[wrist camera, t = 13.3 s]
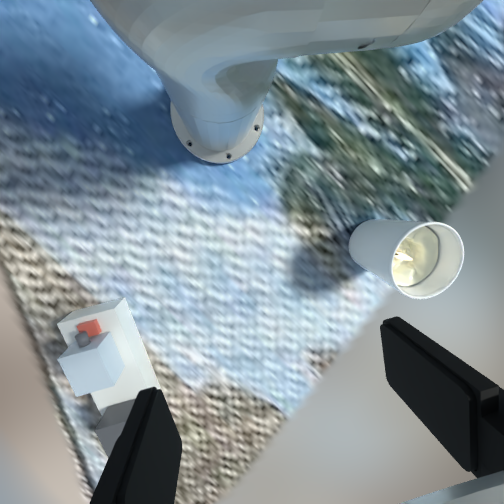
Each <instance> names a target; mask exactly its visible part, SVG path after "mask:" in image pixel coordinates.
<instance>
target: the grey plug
mask: <svg viewBox="0 0 504 504" xmlns="http://www.w3.org/2000/svg"><path fill="white" fill-rule="evenodd" d="M75 339H76V341H75V342H74V343H73V344H72V345H71V346H70V347H69V348H68V349H67V350H66V351H65V352H64V353H63V354H62V355H61V356H60V357H59V358H58V361H59V363H60V365H61V367H62V369H63V371H64V373H65V375H66V377H67V379H68V381H69V383H70V385H71V387H72V389H73V391H74V393H75V395H76V397H78V396H81V395H85V394H88V393H92V392H95V391H99V390H102V389H106V388H109V387H113V386H114V385H115V384H116V382H117V380H118V378H119V376H120V375H121V373H122V371H123V369H124V367H125V365H124V362H123V360H122V358H121V355H120V353H119V351H118V348H117V346H116V344H115V341H114V339H113V337H112V335H111V332H106V333H103V334H99V335H95V336H92V337H89V336H88V334H87V331H83V332H80V333H78V334H77V335H75Z"/></svg>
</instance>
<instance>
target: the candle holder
mask: <svg viewBox="0 0 504 504" xmlns="http://www.w3.org/2000/svg"><path fill="white" fill-rule="evenodd" d="M349 252H350V255H351V257H352V259H353V260H354V261H355V262H356V263H357V264H358V265H359V266H361V267H362V268H364V269H365V270H367V271H368V272H370V273H371V274H373V275H375V276H376V277H378V278H379V279H381V280H382V281H384V282H385V283H387V284H389V285H390V286H392V287H393V288H395V289H396V290H398V291H399V292H400V293H401V294H403V295H405V296H407V297H409V298H413V299H426V298H431V297H434V296H436V295H438V294H440V293H441V292H443V291H444V290H445V289H447V288H448V287H449V286H450V285H451V284H452V283H453V282H454V280H455V279H456V277H457V276H458V274H459V272H460V270H461V268H462V264H463V259H464V247H463V243H462V240H461V238H460V236H459V234H458V233H457V232H456V231H455V230H454V229H453V228H452V227H450V226H448V225H446V224H444V223H440V222H419V221H404V220H388V219H371V220H367V221H365V222H363V223H361V224H360V225H359V226H358V227H357V228H356V229H355V230H354V231H353V233H352V235H351V237H350V240H349Z"/></svg>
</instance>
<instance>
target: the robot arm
mask: <svg viewBox="0 0 504 504" xmlns="http://www.w3.org/2000/svg"><path fill="white" fill-rule="evenodd" d="M90 1H91V2H92V4H93V5H94V7H95V8H96V9H97V11H98V12H99V13H100V15H101V16H102V17H103V19H104V20H105V21H106V22H107V24H108V25H109V26H110V27H111V28H112V30H113V31H114V32H115V33H116V34H117V35H118V36H119V37H120V39H121V40H122V41H123V42H124V43H125V44H126V45H127V46H128V47H129V48H130V49H131V50H132V51H133V52H134V53H136V54H137V55H138V56H139V57H140V58H141V59H142V60H143V61H144V62H145V63H147V64H148V65H149V66H150V67H151V68H153V69H154V70H155V71H156V73H157V75H158V76H159V78H160V80H161V82H162V84H163V86H164V88H165V90H166V92H167V94H168V95H169V97H170V99H171V104H170V110H171V120H172V125H173V127H174V130H175V132H176V135H177V136H178V138H179V140H180V141H181V143H182V144H183V145H184V147H185V148H186V149H187V150H188V151H190V152H191V153H192V154H193V155H195V156H196V157H198V158H199V159H202V160H204V161H206V162H210V163H215V164H225V163H230V162H233V161H236V160H238V159H240V158H242V157H243V156H245V155H246V154H247V153H248V152H249V151H250V150H251V149H252V148H253V147H254V145H255V144H256V142H257V140H258V139H259V137H260V134H261V131H262V128H263V121H264V109H263V101H264V99H265V97H266V95H267V93H268V91H269V88H270V86H271V83H272V81H273V78H274V75H275V71H276V67H277V62H278V59H283V58H295V57H298V56H302V55H315V54H327V53H339V52H351V51H364V50H375V49H381V48H392V47H398V46H404V45H410V44H414V43H418V42H421V41H424V40H427V39H429V38H432V37H434V36H436V35H438V34H440V33H442V32H444V31H445V30H447V29H449V28H450V27H452V26H454V25H455V24H456V23H458V22H459V21H460V20H462V19H463V18H464V17H465V16H466V15H468V14H469V13H470V12H471V11H472V10H473V9H474V8H476V7H477V6H478V5H479V4H480V3H481V2H482V1H483V0H90ZM254 128H257V129H258V130H257V131H255V130H254ZM189 143H192V146H189ZM227 155H229V156H230V158H229V159H228V158H227ZM380 331H381V338H382V347H383V355H384V363H385V371H386V377H387V381H388V382H389V385H390V386H391V387H392V388H393V390H394V391H395V392H396V393H397V394H398V395H399V396H400V398H401V399H402V400H403V401H404V402H405V403H406V404H407V405H408V407H409V408H410V409H411V410H412V411H413V412H414V413H415V415H416V416H417V417H418V418H419V419H420V420H421V421H422V422H423V424H424V425H425V426H426V427H427V428H428V429H429V430H430V432H431V433H432V434H433V435H434V436H435V437H436V438H437V439H438V441H440V443H441V444H442V445H443V446H444V447H445V449H446V450H447V451H448V452H449V453H450V454H451V455H452V457H453V458H454V459H455V460H456V461H457V462H458V463H459V464H460V466H461V467H462V468H463V469H465V470H466V471H468V472H470V471H471V472H472V473H473V474H474V475H475V476H476V477H477V479H474V480H471V481H467V482H464V483H461V484H457V485H454V486H451V487H448V488H445V489H442V490H439V491H436V492H433V493H430V494H427V495H424V496H421V497H418V498H415V499H412V500H409V501H406V502H403V503H399V504H504V390H503V389H502V388H500V387H499V386H498V385H497V384H495V383H494V382H493V381H491V380H490V379H488V378H487V377H485V376H484V375H482V374H481V373H479V372H478V371H477V370H475V369H474V368H472V367H471V366H469V365H468V364H466V363H465V362H464V361H462V360H461V359H459V358H458V357H456V356H455V355H453V354H452V353H451V352H449V351H448V350H446V349H445V348H443V347H442V346H440V345H439V344H438V343H436V342H435V341H433V340H431V339H430V338H429V337H427V336H426V335H424V334H423V333H422V332H420V331H419V330H417V329H416V328H414V327H413V326H412V325H410V324H408V323H407V322H406V321H404V320H403V319H401V318H400V317H393V318H390V319H386V320H384V321H383V324H382V325H381V326H380ZM181 454H182V441H181V438H180V435H179V433H178V430H177V428H176V425H175V423H174V420H173V418H172V415H171V413H170V410H169V408H168V405H167V402H166V400H165V397H164V395H163V392H162V390H161V389H158V390H157V388H156V387H150V388H147V389H144V390H140V391H139V392H138V394H137V397H136V399H135V402H134V404H133V406H132V409H131V411H130V414H129V416H128V418H127V421H126V423H125V426H124V428H123V430H122V433H121V435H120V436H119V437H118V439H117V440H116V442H115V445H114V447H113V449H112V452H111V454H110V456H109V459H108V461H107V463H106V466H105V468H104V471H103V473H102V475H101V478H100V480H99V482H98V485H97V487H96V489H95V492H94V494H93V496H92V499H91V501H90V504H174V500H175V493H176V487H177V480H178V474H179V467H180V460H181Z"/></svg>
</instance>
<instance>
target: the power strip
mask: <svg viewBox="0 0 504 504" xmlns="http://www.w3.org/2000/svg"><path fill="white" fill-rule="evenodd" d="M57 325H58V327H59V329H60V331H61V333H62V335H63V337H64V340H65V342H66V344H67V346H68V348H69V347H70V346H71V345H72V344H73V343H74V342H75V341H76V339H75V335H77V334H78V333H80V332H83V331H87V334H88V336H89V337H92V336H95V335H99V334H103V333H106V332H111V335H112V337H113V339H114V341H115V344H116V346H117V348H118V351H119V353H120V355H121V358H122V360H123V362H124V365H125V367H124V369H123V371H122V373H121V375H120V376H119V378H118V380H117V382H116V384H115V385H114V386H113V387H109V388H106V389H102V390H99V391H95V392H92V393H91V395H92V397H93V399H94V401H95V403H96V406H97V408H98V410H99V412H100V414H101V416H103V414H104V412H105V410H106V408H107V407H108V406H112V405H115V404H119V403H122V402H126V401H129V400H133V399H136V397H137V394H138V392H139V391H140V390H144V389H147V388H150V387H156V388H157V390H158V389H161V387H160V385H159V382H158V380H157V377H156V375H155V372H154V370H153V367H152V365H151V362H150V360H149V357H148V355H147V352H146V350H145V347H144V344H143V342H142V339H141V337H140V334H139V332H138V329H137V327H136V324H135V322H134V319H133V317H132V314H131V312H130V309H129V307H128V304H127V302H126V299H125V297H124V298H120V299H116V300H112V301H109V302H105V303H101V304H97V305H93V306H90V307H86V308H82V309H78V310H75V311H72V312H71V313H70V314H69V315H67V316H66V317H65V318H64V319H62V320H61V321H60V322H59V323H57Z"/></svg>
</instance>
